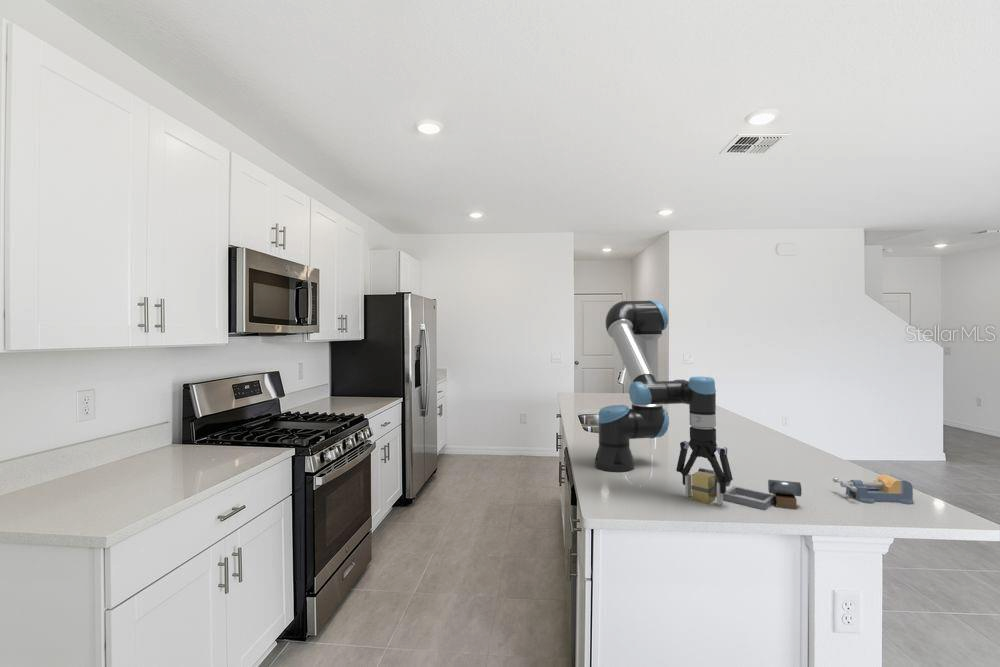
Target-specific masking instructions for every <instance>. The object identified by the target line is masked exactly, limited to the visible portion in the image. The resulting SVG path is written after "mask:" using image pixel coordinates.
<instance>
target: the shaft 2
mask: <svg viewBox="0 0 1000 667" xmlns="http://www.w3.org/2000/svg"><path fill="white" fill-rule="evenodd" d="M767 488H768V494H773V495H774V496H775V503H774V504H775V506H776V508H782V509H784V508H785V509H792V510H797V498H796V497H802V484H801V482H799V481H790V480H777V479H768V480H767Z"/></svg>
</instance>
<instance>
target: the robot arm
mask: <svg viewBox="0 0 1000 667" xmlns="http://www.w3.org/2000/svg"><path fill="white" fill-rule="evenodd" d="M668 324H669V314H668V310H667V308H666V307H665V306H664V304H663V303H662V302H661V301H659V300H658V301H657V300H622V301H619V302H617V303H615V304H614V305H612V306H611V307H610V309H609V310H608V312H607V314H606V317H605V329H606V332H607V334H608V336H609V337H610V338H612V339H613V341H614V343H615V346H616V348H617V351H618V354H619V355H620V358H621V360H622V362H623V365H624V367H625V369H626V372H627V375H628V378H630V381H631V383H630V385H629V387H628V394H629V400H630V402H631V408H630V407H629V406H628V405H625V404H614V405H607V406H604V407H602V408H600V410H599V411H598V420H597V422H598V448H597V451H596V455H595V458H594V466H595V467H596V469H599V470H602V471H606V472H615V473H616V472H629V471H632V470H634V469H635V460H634V457H633V454H632V451H631V446H630V440H635V439H655V438H661V437H663V436H665V434H666V433H667V432H668V429H669V424H670V418H669V417H670V416H669V415H668V414H669V413H668V411H667V409H666V408H664V407H663V405H677V404H683V405H688V406H689V425H690V427H689V441H686V440H683V441H681V442H680V443H679V447H680V451H679V456H678V460H677V463H676V464H677V465H676V470H675V471H676V472H677V473H680V474H681V475H682V484H683V486H685V488H684V489H685V495H684V496H685V497H686V498H689V497H692V473H690V471H691V470H692V467H694V464H695V462H696V460H697V458H701V457H702V458H705V459H707V460H708V462H709V464H710V465H711V468H712V470H713V471H714V472H715V474H716V476H717V478H718V480H719V482H717V496H716V505H718V506H720V505H722V504H723V503H724V500H723V494H724V493H725V492H726V491H727V486H726V482H730V481H733V474H732V471H731V466H730V464H729V463H730V462H729V459H728V448H727V447H721V446H718V444H717V428H716V426H717V417H716V416H717V414H716V411H717V410H716V409H717V407H716V406H717V405H716V404H717V403H716V402H717V401H716V397H717V396H716V392H717V389H716V381H715V379H714V378H713V377H710V376H691V377H689V380H686V379H673V380H666V381H665V380H661V381H660V380H659V339H660V338H661V337H662V335H663V331H664V330H666V328H668ZM689 448H690V449H691V453H690V455H689V458H688V460H687V462H686V459H687V455H688V454H687V453H688V449H689ZM716 452H717V454H718V455H719V460H720V463H719V461H718V458H717V456H716V454H715V453H716ZM720 464H721V466H720ZM721 467H722V468H721ZM730 483H731V482H730Z"/></svg>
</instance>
